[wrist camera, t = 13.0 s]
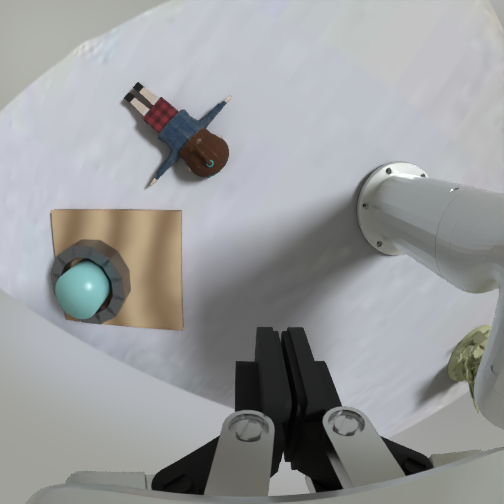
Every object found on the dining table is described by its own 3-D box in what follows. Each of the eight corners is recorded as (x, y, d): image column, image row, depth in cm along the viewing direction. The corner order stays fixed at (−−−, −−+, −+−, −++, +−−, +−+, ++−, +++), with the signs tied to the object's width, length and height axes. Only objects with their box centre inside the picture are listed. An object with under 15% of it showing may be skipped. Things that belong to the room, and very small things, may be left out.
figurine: (489, 366, 51) (527, 405, 37) (444, 391, 51) (479, 438, 37) (499, 313, 47) (547, 350, 33) (450, 339, 47) (497, 387, 33)
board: (181, 210, 38) (180, 211, 37) (183, 326, 43) (182, 330, 42) (54, 209, 36) (51, 210, 36) (68, 316, 41) (65, 319, 40)
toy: (102, 136, 36) (185, 211, 38) (85, 133, 31) (176, 217, 34) (174, 53, 33) (263, 126, 36) (165, 40, 28) (265, 120, 31)
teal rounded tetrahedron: (112, 257, 38) (94, 273, 32) (116, 299, 40) (101, 321, 34) (72, 255, 37) (51, 271, 32) (78, 296, 39) (60, 316, 34)
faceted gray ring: (127, 240, 37) (120, 247, 35) (133, 315, 41) (127, 327, 38) (57, 238, 37) (46, 244, 34) (67, 309, 40) (59, 319, 37)
